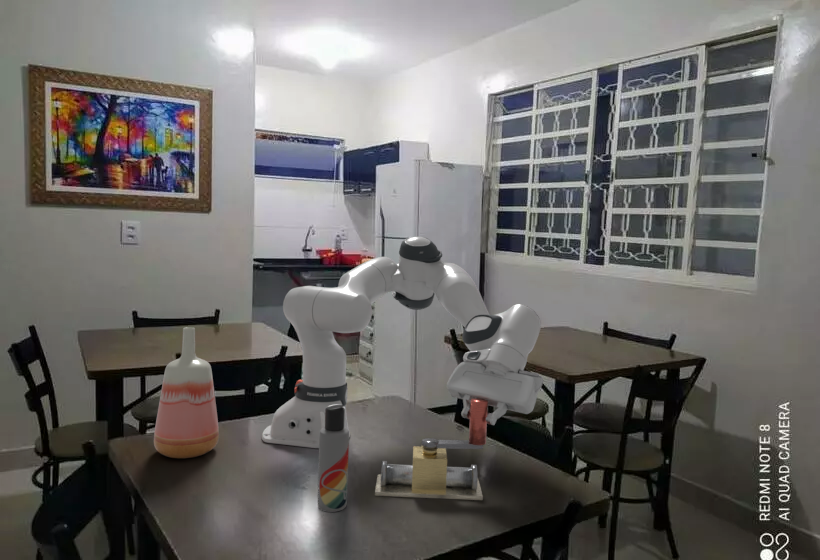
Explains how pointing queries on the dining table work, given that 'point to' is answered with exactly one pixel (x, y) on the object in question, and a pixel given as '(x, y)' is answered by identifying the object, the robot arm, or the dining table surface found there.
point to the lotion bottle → (333, 461)
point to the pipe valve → (428, 478)
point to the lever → (475, 430)
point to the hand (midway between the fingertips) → (477, 419)
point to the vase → (187, 405)
